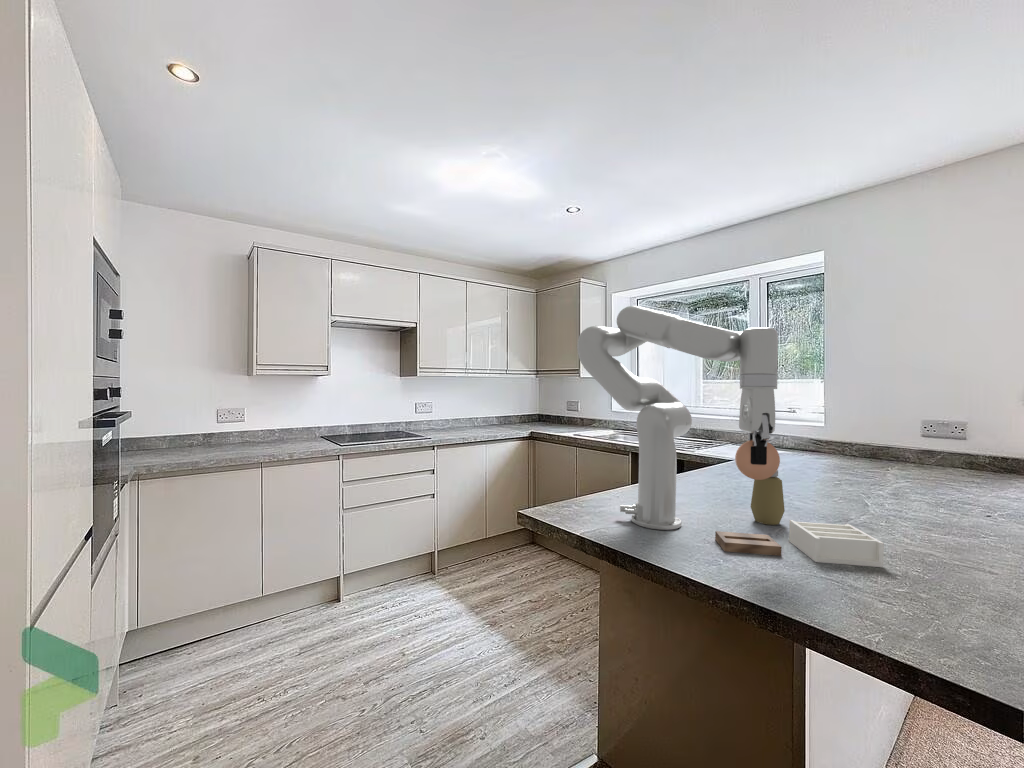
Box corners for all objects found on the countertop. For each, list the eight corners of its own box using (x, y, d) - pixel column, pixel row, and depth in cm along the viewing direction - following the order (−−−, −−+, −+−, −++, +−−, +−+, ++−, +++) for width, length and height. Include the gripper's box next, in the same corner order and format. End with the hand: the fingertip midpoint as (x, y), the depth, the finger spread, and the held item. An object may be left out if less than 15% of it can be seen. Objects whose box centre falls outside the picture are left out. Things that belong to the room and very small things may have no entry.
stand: (724, 551, 102) (724, 542, 102) (715, 539, 110) (715, 531, 110) (781, 555, 100) (781, 546, 100) (767, 543, 108) (767, 534, 108)
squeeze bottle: (775, 518, 128) (777, 454, 128) (790, 527, 120) (792, 458, 120) (745, 517, 129) (747, 453, 129) (757, 526, 121) (759, 457, 121)
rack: (815, 561, 97) (815, 538, 97) (788, 540, 110) (789, 520, 110) (883, 567, 95) (883, 543, 95) (848, 545, 108) (848, 524, 108)
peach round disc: (776, 483, 103) (782, 443, 103) (734, 476, 105) (739, 436, 105) (774, 482, 104) (780, 442, 104) (732, 475, 106) (738, 436, 106)
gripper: (731, 382, 113) (730, 457, 113) (751, 382, 98) (750, 469, 98) (764, 383, 111) (763, 459, 111) (790, 382, 96) (789, 470, 96)
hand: (757, 463), depth 104 cm, fingers closed on peach round disc, 1 cm apart
